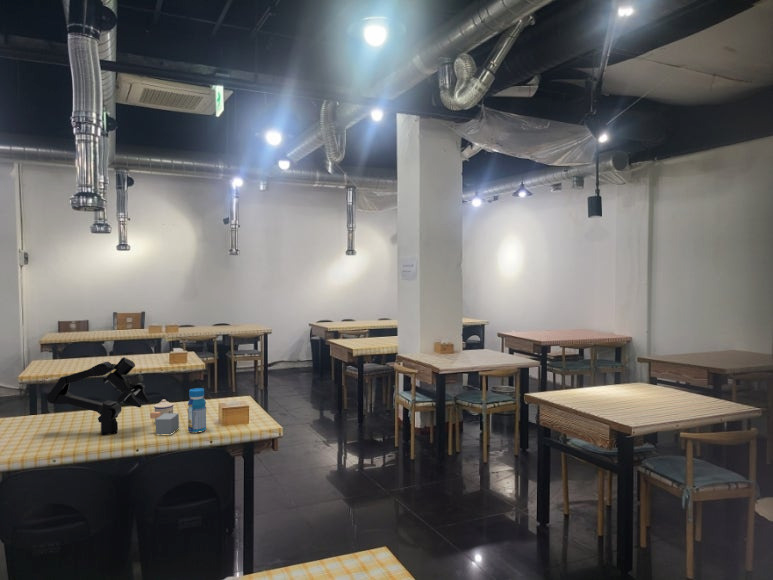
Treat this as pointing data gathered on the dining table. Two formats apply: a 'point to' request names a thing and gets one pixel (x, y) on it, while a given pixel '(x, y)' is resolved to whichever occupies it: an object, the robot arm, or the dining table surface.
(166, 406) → the teacup with lid
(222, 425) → the dining table surface
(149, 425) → the dining table surface
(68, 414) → the dining table surface
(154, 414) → the lid
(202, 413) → the beverage bottle
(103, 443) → the dining table surface
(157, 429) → the carton
